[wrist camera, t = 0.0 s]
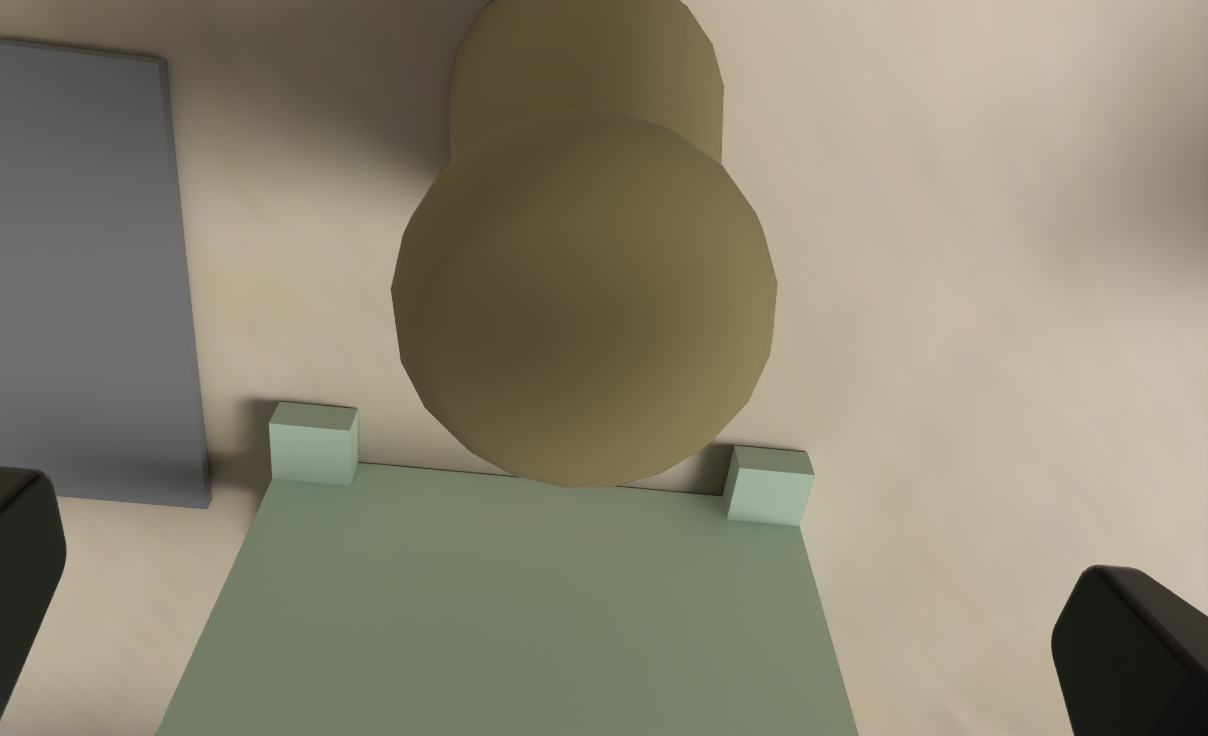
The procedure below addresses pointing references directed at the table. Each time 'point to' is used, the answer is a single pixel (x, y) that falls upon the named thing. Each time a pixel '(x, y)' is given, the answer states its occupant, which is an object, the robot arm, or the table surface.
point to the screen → (511, 605)
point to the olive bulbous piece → (584, 248)
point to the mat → (95, 280)
